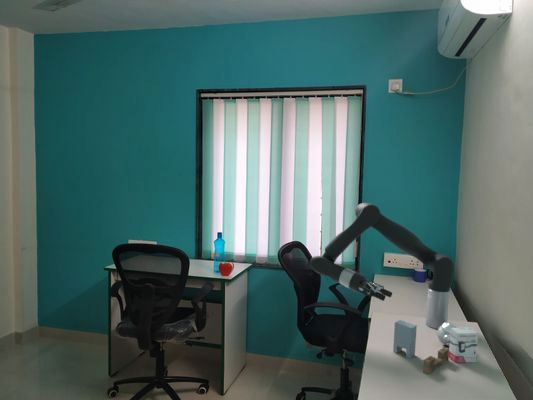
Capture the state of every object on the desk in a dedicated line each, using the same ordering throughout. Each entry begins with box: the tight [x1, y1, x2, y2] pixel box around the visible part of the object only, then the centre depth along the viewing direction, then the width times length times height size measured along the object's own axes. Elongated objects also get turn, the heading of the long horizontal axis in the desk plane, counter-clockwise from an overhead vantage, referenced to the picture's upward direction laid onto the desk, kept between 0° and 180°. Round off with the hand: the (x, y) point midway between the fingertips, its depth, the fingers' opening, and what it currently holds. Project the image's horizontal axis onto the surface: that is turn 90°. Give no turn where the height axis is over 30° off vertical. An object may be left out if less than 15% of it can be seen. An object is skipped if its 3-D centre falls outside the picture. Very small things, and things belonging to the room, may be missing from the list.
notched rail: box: [422, 347, 450, 375], centre depth 152 cm, size 16×2×4 cm, turn 132°
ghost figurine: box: [436, 321, 457, 347], centre depth 169 cm, size 9×10×10 cm
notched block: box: [392, 319, 418, 359], centre depth 161 cm, size 4×7×12 cm, turn 42°
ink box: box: [448, 326, 479, 363], centre depth 157 cm, size 8×5×12 cm, turn 98°
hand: (388, 296), depth 166 cm, fingers open, 8 cm apart
